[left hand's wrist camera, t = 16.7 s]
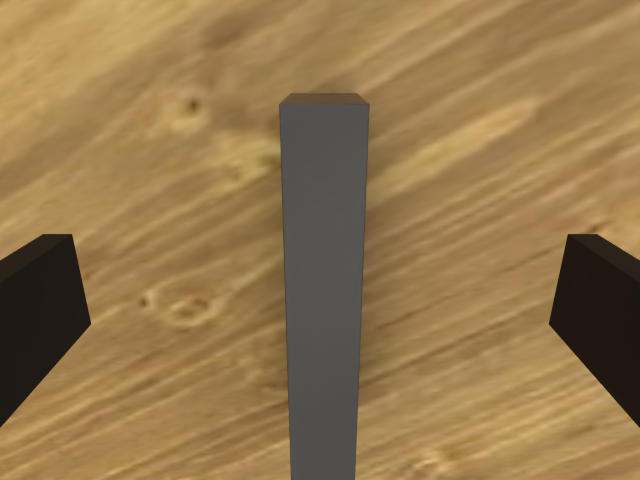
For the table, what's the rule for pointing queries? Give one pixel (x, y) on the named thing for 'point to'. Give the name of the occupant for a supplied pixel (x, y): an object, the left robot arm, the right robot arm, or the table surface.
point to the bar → (323, 276)
